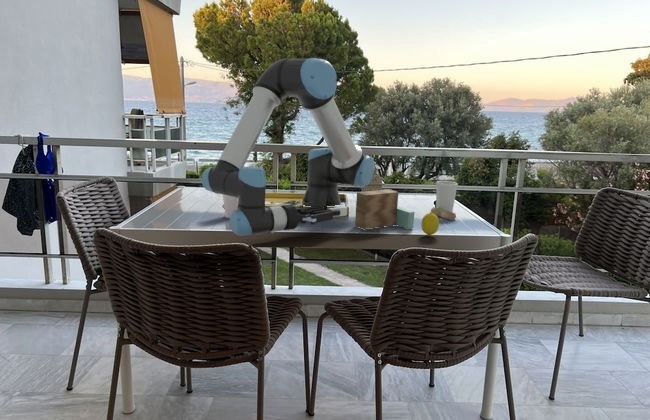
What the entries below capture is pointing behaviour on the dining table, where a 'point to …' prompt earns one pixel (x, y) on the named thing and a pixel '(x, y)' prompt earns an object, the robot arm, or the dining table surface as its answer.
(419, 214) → the dining table surface
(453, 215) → the roller
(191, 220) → the dining table surface
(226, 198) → the smoothie
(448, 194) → the cup
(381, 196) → the slab
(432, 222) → the lemon
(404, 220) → the rail
